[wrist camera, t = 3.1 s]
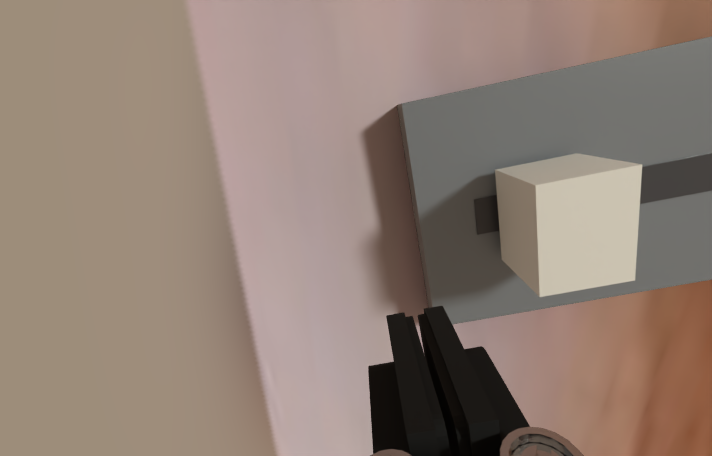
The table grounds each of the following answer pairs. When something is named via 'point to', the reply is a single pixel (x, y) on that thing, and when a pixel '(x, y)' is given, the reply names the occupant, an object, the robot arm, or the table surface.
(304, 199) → the table surface
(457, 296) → the board
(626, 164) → the fader tab
